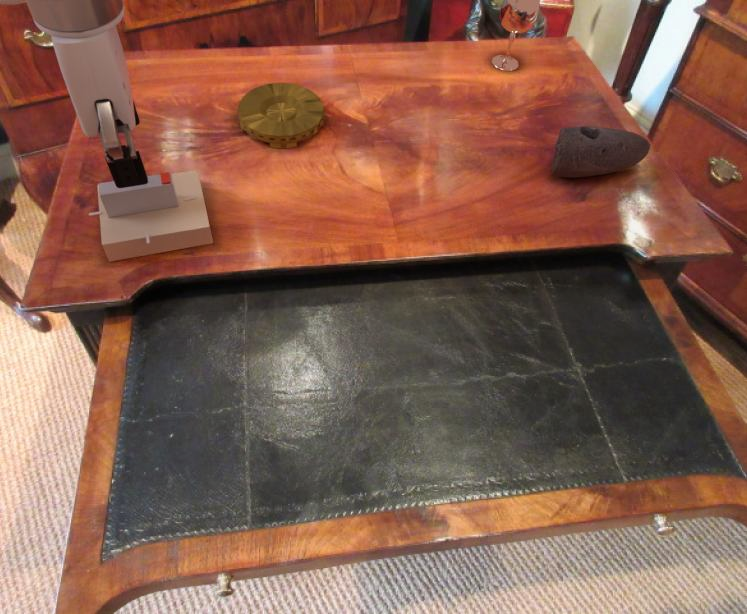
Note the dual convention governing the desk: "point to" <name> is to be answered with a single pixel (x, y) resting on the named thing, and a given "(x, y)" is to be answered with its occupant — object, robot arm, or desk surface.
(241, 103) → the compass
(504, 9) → the wineglass
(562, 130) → the perforated stone tool
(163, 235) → the tap plate
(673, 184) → the desk surface
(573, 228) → the desk surface
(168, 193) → the grey rectangular block
